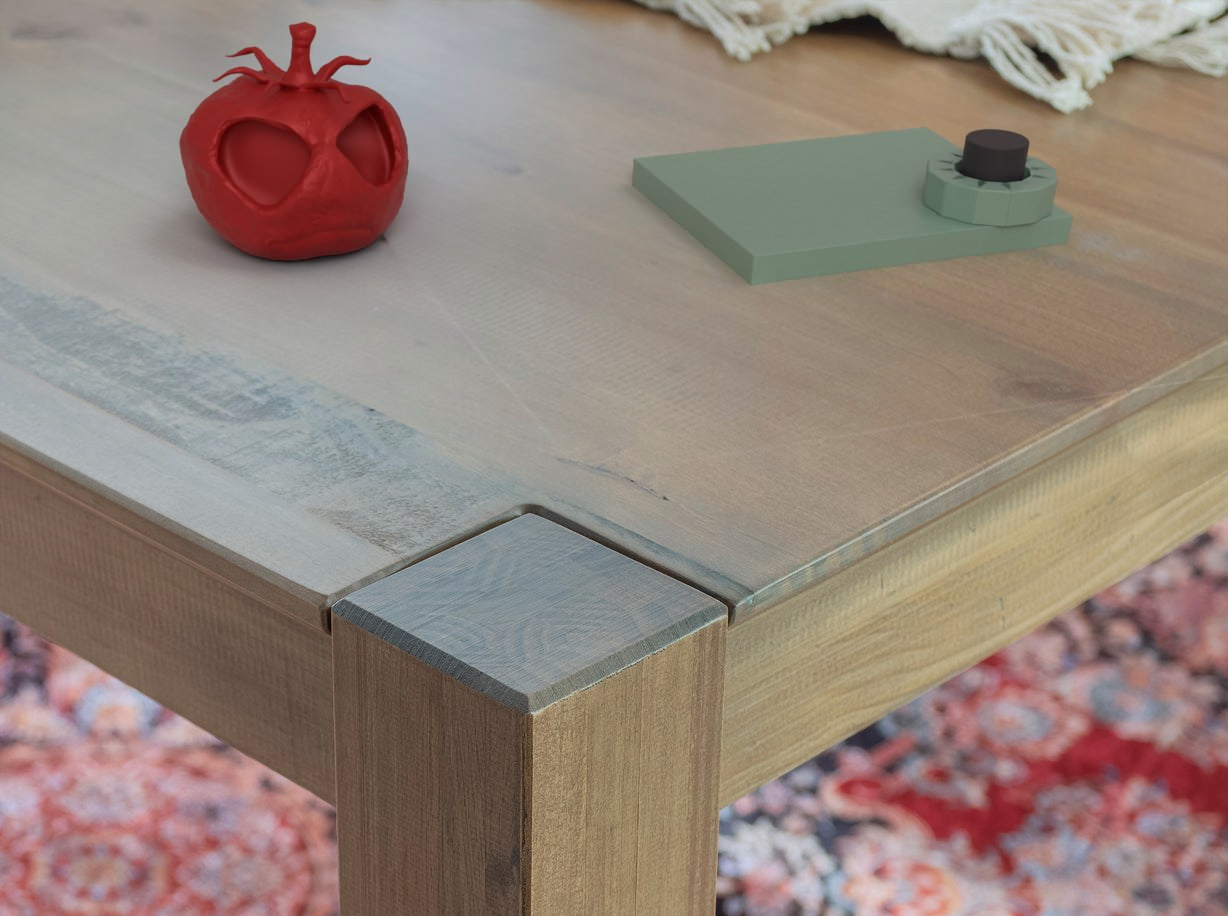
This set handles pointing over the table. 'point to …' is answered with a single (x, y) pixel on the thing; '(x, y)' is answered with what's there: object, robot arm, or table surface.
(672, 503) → the table surface
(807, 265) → the scale
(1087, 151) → the table surface
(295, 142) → the tomato with eye holes
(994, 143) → the button
